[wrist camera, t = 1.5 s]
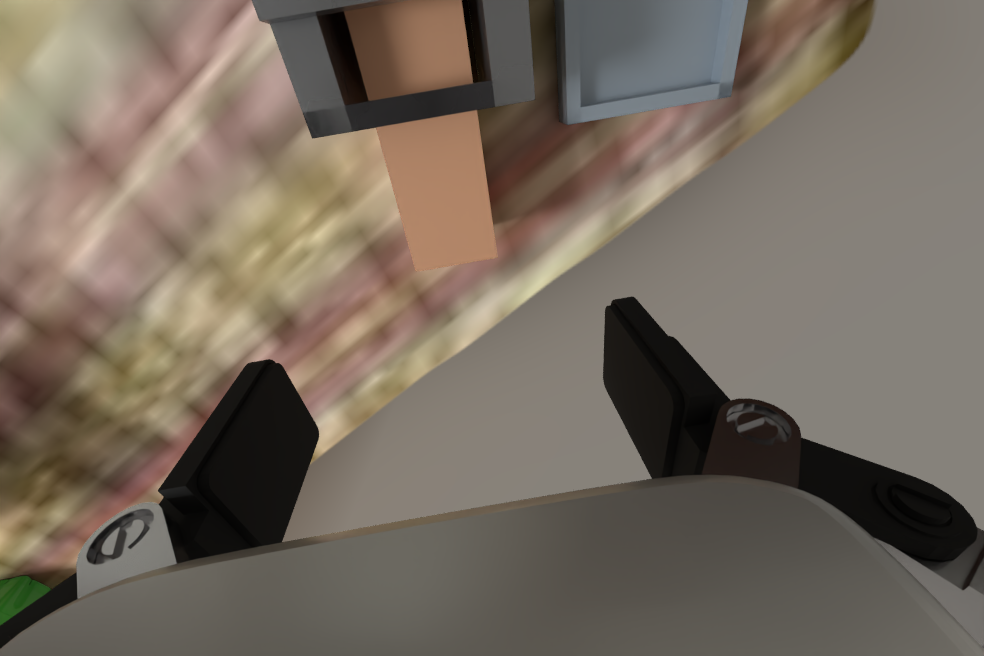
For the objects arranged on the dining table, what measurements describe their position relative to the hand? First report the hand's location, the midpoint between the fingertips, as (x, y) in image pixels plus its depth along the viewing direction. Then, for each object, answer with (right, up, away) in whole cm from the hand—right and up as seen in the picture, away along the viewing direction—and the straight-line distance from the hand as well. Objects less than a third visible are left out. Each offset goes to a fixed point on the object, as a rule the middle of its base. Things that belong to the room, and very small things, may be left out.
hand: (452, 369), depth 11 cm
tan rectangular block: (-3, +14, +13) cm, 19 cm away
